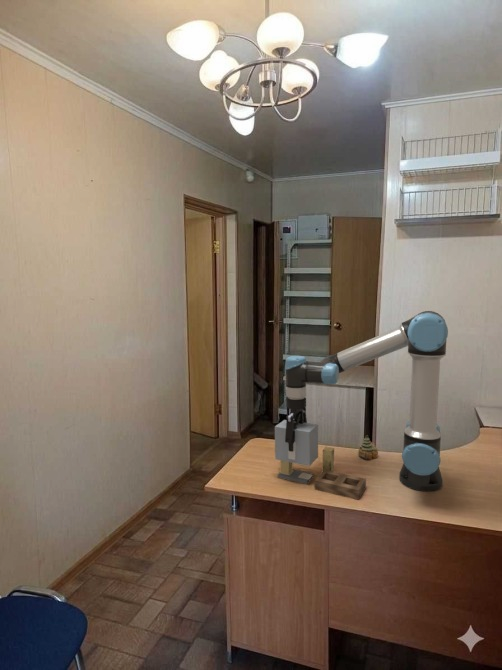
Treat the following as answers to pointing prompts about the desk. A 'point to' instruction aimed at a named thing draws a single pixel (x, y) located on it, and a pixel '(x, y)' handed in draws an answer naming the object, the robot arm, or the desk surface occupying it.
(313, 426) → the block
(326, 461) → the brass pin
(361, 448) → the ornament
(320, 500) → the desk surface
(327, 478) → the socket board
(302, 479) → the board
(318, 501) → the desk surface
